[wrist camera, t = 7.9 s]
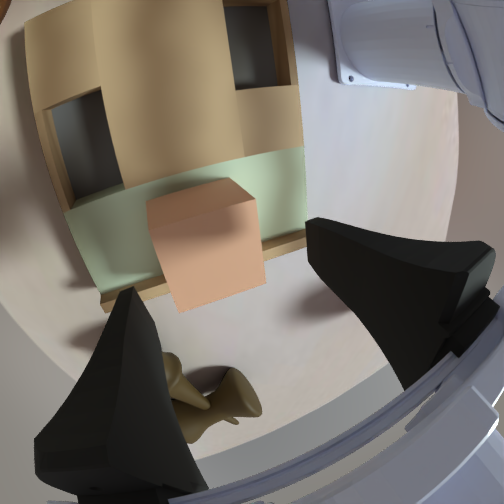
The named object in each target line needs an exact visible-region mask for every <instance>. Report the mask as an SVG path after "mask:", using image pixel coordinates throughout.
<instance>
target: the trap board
mask: <svg viewBox="0 0 504 504" xmlns="http://www.w3.org/2000/svg"><path fill="white" fill-rule="evenodd" d="M24 31H25V52H26V64H27V73H28V81H29V88H30V95H31V101H32V106H33V111H34V116H35V121H36V126H37V130H38V134H39V139H40V143H41V146H42V150H43V154H44V157H45V161H46V164H47V168H48V171H49V174H50V177H51V180H52V183H53V186H54V189H55V192H56V195H57V198H58V201H59V203H60V206H61V209H62V211H63V214H64V217H65V219H66V222H67V224H68V227H69V229H70V231H71V234H72V236H73V238H74V241H75V243H76V245H77V247H78V250H79V252H80V254H81V256H82V258H83V260H84V263H85V265H86V267H87V269H88V271H89V273H90V275H91V277H92V279H93V281H94V283H95V285H96V286H97V288H98V290H99V292H100V294H101V300H100V305H101V307H102V308H103V310H104V312H105V313H108V312H111V311H112V309H113V306H114V304H115V301H116V299H117V297H118V294H119V292H120V291H122V290H124V289H127V288H130V287H132V286H134V287H135V289H136V291H137V292H138V294H139V296H140V298H141V300H142V301H146V300H149V299H152V298H155V297H158V296H161V295H164V294H167V293H171V292H170V289H169V286H168V284H167V281H166V279H165V276H164V273H163V271H162V268H161V265H160V262H159V260H158V257H157V254H156V251H155V248H154V245H153V242H152V239H151V236H150V233H149V230H148V221H147V211H146V201H148V200H151V199H154V198H157V197H160V196H164V195H167V194H170V193H174V192H177V191H181V190H184V189H188V188H191V187H195V186H198V185H202V184H206V183H209V182H213V181H217V180H221V179H225V178H229V177H230V178H231V179H232V180H233V181H235V182H236V183H237V184H238V185H240V186H241V187H242V188H243V189H244V190H246V191H247V192H248V193H249V194H251V195H252V196H253V197H254V198H255V199H256V204H257V212H258V220H259V228H260V236H261V244H262V252H263V261H267V260H270V259H272V258H275V257H278V256H281V255H284V254H287V253H290V252H293V251H296V250H299V249H302V248H305V247H307V243H306V231H305V221H308V220H307V193H306V172H305V155H304V141H303V127H302V116H301V105H300V94H299V85H298V76H297V67H296V59H295V51H294V43H293V36H292V29H291V23H290V16H289V10H288V4H287V0H73V1H70V2H68V3H65V4H63V5H60V6H58V7H56V8H53V9H51V10H49V11H47V12H45V13H42V14H40V15H38V16H36V17H34V18H32V19H30V20H28V21H27V22H25V23H24Z"/></svg>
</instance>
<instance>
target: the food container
mask: <svg viewBox="0 0 504 504" xmlns="http://www.w3.org/2000/svg"><path fill="white" fill-rule="evenodd" d="M11 1H12V0H0V24H1V22H2V20H3V19H4V17H5V15H6V13H7V10H8V8H9V6H10V4H11Z"/></svg>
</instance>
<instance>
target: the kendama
mask: <svg viewBox="0 0 504 504" xmlns="http://www.w3.org/2000/svg"><path fill="white" fill-rule="evenodd" d="M162 356H163V362H164V368H165V374H166V379H167V385H168V390H169V394H170V397H171V398H174V399H177V400H173V401H171V402H172V405H173V408H174V411H175V414H176V417H177V420H178V423H179V425H180V428H181V430H182V433H183V435H184V438H185V440H186V443H189V444H192V443H194V442H196V441H197V440H198V439H199V438H200V437H201V435H202V434H203V433H204V431H205V430H206V429H207V428H208V427H209V426H211V425H213V424H215V423H217V422H219V421H221V420H225V421H227V422H229V423H232V424H235V425H238V424H239V422H238V421H237V420H236V419H235V418H233V417H259V416H261V414H262V407H261V404H260V401H259V399H258V397H257V395H256V393H255V391H254V389H253V387H252V386H251V384H250V383H249V381H248V380H247V379H246V377H245V376H244V375H243V374H242V373H241V372H240V371H239V370H237V369H235V368H230V369H229V370H228V371H227V373H226V374H225V376H224V378H223V380H222V382H221V384H220V385H219V387H218V388H217V389H216V390H215V391H214V392H212V393H211V394H209V395H207V396H205V397H204V396H203V395H202V394H201V393H200V392H199V391H198V390H197V389H196V388H195V387H194V386H193V385H192V384H191V383H190V382H189V381H188V380H187V379H186V378H185V377H184V375H183V374H182V365H181V362H180V360H179V358H178V357H177V356H176V355H174V354H173V353H170V352H162Z"/></svg>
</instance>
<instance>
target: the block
mask: <svg viewBox="0 0 504 504" xmlns="http://www.w3.org/2000/svg"><path fill="white" fill-rule="evenodd" d="M146 211H147V221H148V230H149V233H150V236H151V239H152V242H153V245H154V248H155V251H156V254H157V257H158V260H159V262H160V265H161V268H162V271H163V273H164V276H165V279H166V281H167V284H168V286H169V289H170V292H171V294H172V297H173V299H174V302H175V304H176V307H177V309H178V312H179V313H181V312H184V311H187V310H190V309H193V308H196V307H199V306H202V305H205V304H208V303H211V302H214V301H217V300H220V299H223V298H226V297H229V296H232V295H234V294H237V293H240V292H243V291H246V290H249V289H251V288H254V287H257V286H260V285H263V284H265V283H266V277H265V269H264V261H263V252H262V244H261V236H260V228H259V220H258V212H257V204H256V199H255V198H254V197H253V196H252V195H251V194H249V193H248V192H247V191H246V190H244V189H243V188H242V187H241V186H240V185H238V184H237V183H236V182H235V181H233V180H232V179H231V178H230V177H229V178H225V179H221V180H217V181H213V182H209V183H206V184H202V185H198V186H195V187H191V188H188V189H184V190H181V191H177V192H174V193H170V194H167V195H164V196H160V197H157V198H154V199H151V200H148V201H146Z"/></svg>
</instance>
